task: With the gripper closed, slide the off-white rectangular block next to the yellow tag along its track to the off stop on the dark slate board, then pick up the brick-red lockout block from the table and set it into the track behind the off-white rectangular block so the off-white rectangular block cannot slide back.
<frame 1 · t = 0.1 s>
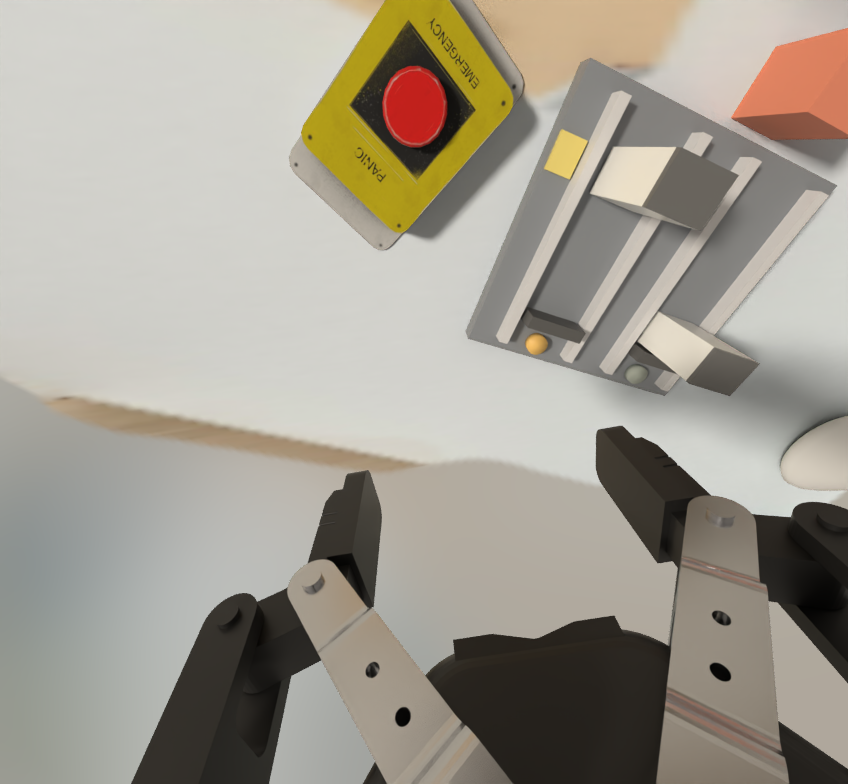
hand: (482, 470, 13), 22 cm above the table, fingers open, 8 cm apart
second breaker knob: (691, 350, 31), point 5 cm above the table, slide at 9.0 cm
emergency button: (402, 126, 26), on the table
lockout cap: (773, 95, 26), on the table
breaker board: (627, 263, 32), on the table
flower in vase: (813, 441, 46), on the table
off-white rectangular block: (653, 185, 24), point 5 cm above the table, slide at 0.0 cm
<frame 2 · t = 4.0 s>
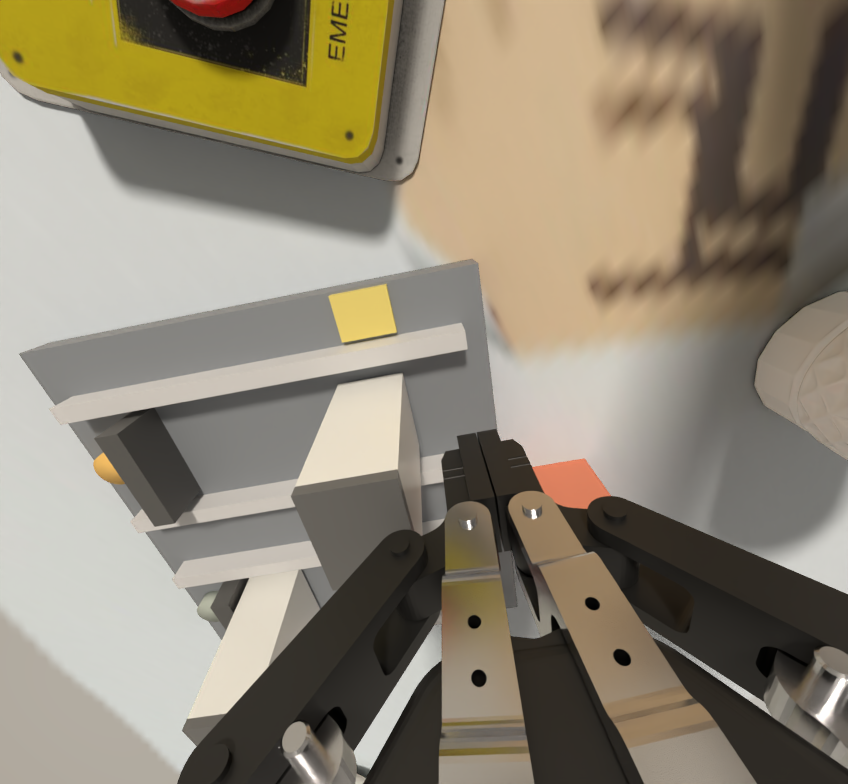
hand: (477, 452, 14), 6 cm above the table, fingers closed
white cup: (816, 354, 19), on the table
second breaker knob: (265, 657, 20), point 5 cm above the table, slide at 9.0 cm
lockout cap: (550, 490, 22), on the table
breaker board: (326, 488, 22), on the table
flower in vase: (326, 774, 38), on the table
off-white rectangular block: (373, 463, 14), point 5 cm above the table, slide at 0.5 cm, touching gripper
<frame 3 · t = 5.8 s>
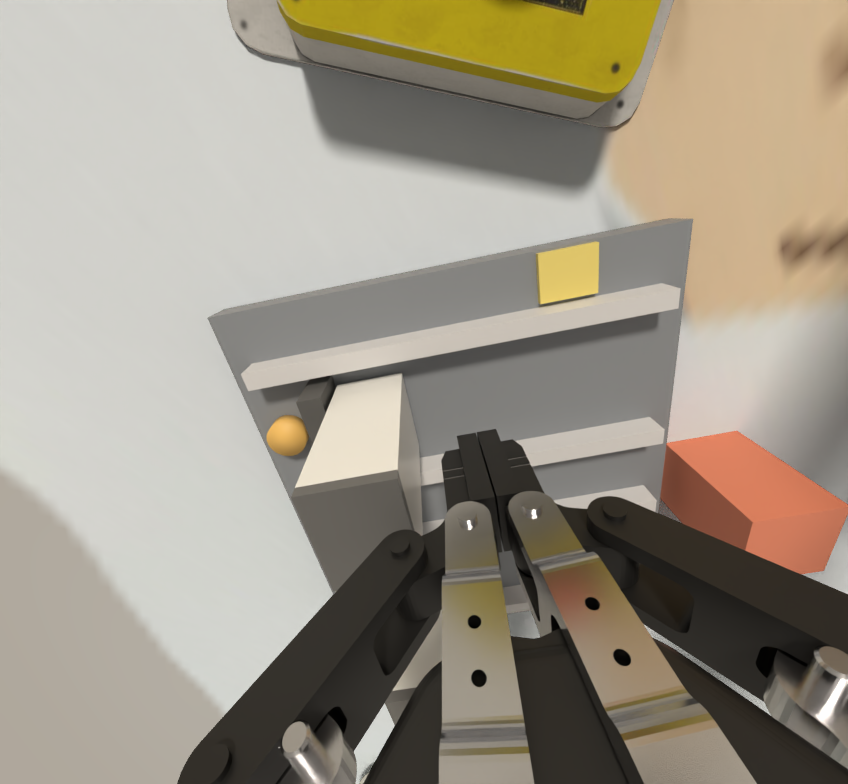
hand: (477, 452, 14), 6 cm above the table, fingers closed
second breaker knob: (426, 633, 19), point 5 cm above the table, slide at 9.0 cm
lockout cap: (696, 465, 22), on the table
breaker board: (472, 463, 21), on the table
off-white rectangular block: (373, 463, 14), point 5 cm above the table, slide at 9.0 cm, touching gripper
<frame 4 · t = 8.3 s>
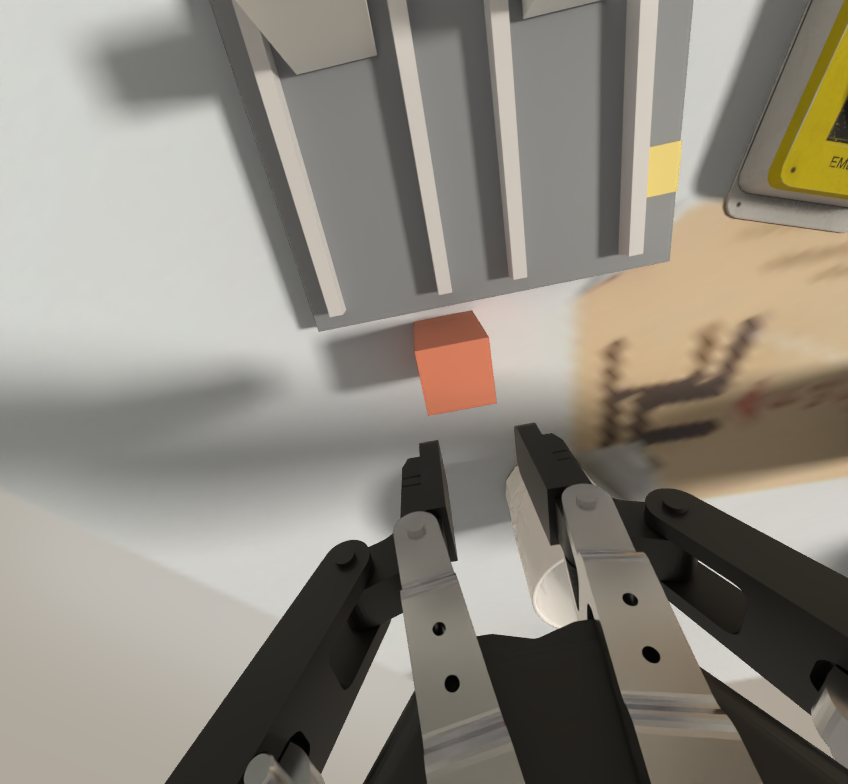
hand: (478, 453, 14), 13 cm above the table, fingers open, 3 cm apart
white cup: (543, 482, 32), on the table
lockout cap: (447, 343, 26), on the table
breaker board: (462, 108, 20), on the table
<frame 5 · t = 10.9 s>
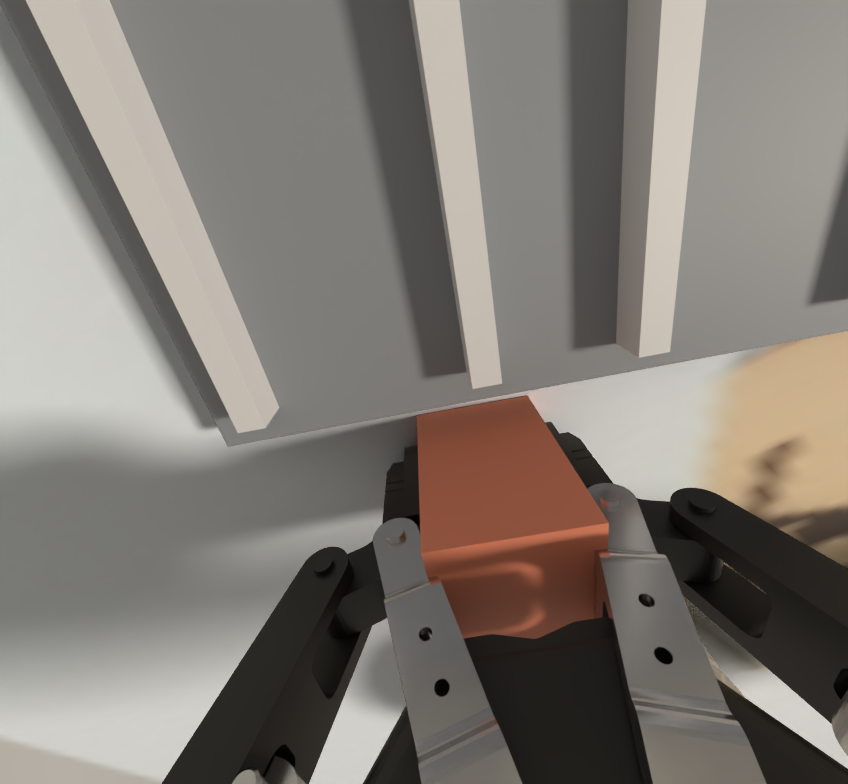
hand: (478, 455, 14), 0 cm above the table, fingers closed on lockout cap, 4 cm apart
white cup: (620, 639, 20), on the table
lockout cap: (478, 451, 14), on the table, touching gripper
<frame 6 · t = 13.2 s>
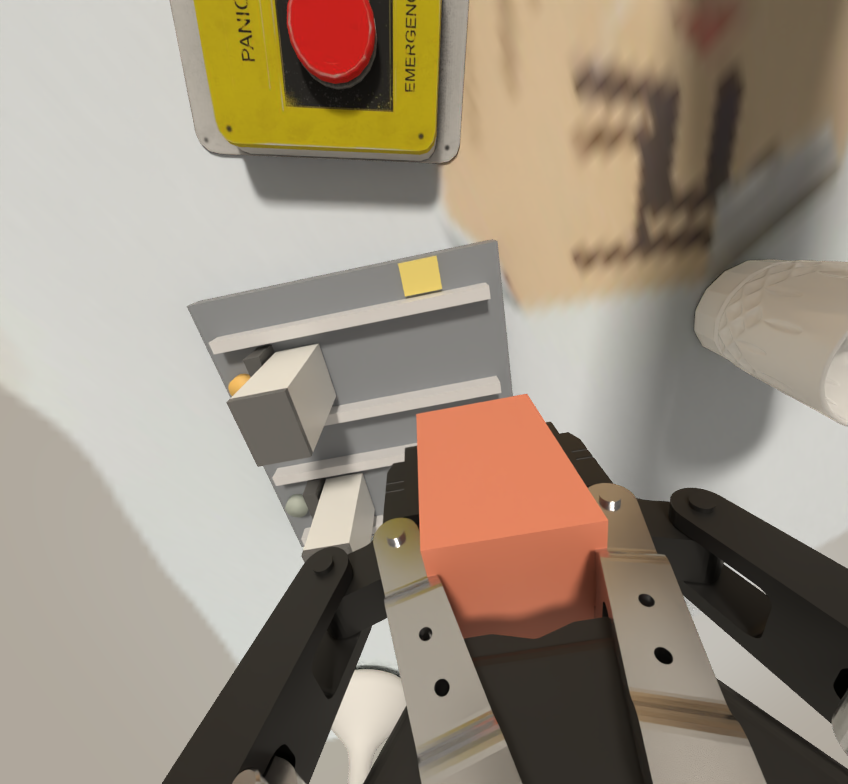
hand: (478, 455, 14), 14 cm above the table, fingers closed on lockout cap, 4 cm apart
white cup: (738, 307, 27), on the table
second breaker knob: (343, 529, 27), point 5 cm above the table, slide at 9.0 cm
emergency button: (327, 61, 20), on the table
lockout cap: (478, 449, 14), point 14 cm above the table, touching gripper
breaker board: (382, 413, 29), on the table
flower in vase: (365, 678, 46), on the table
off-white rectangular block: (291, 398, 22), point 5 cm above the table, slide at 9.0 cm
when the fingers open (3 cm above the table, at t = 15.5 s): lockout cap drops 1 cm, resting on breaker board.
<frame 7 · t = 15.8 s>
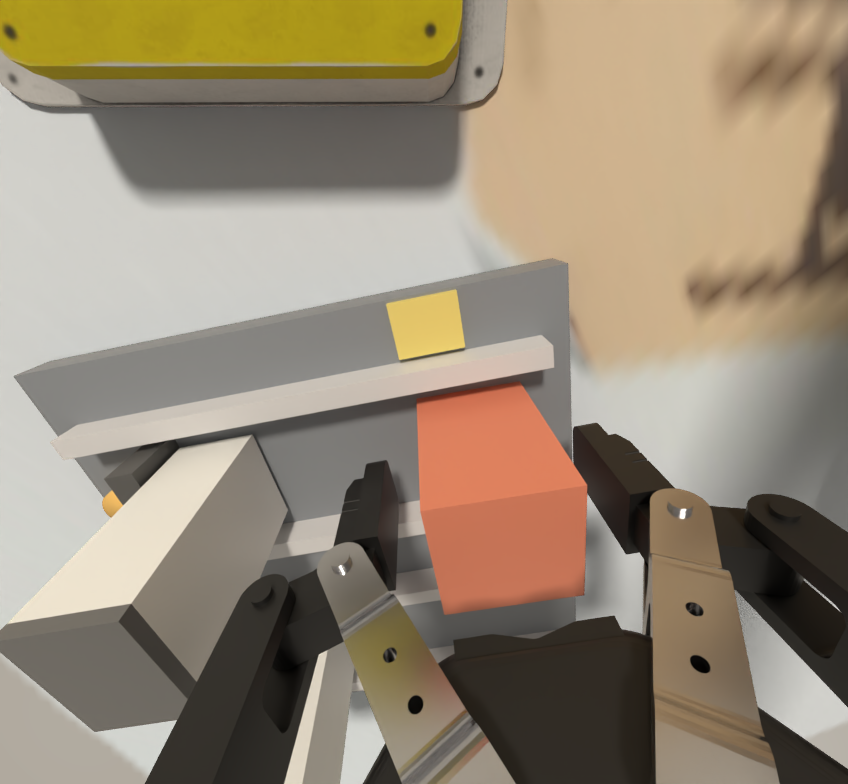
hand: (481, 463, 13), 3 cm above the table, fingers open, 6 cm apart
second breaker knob: (301, 720, 17), point 5 cm above the table, slide at 9.0 cm
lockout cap: (473, 433, 15), point 1 cm above the table, touching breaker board
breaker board: (365, 521, 19), on the table
off-white rectangular block: (189, 553, 12), point 5 cm above the table, slide at 9.0 cm
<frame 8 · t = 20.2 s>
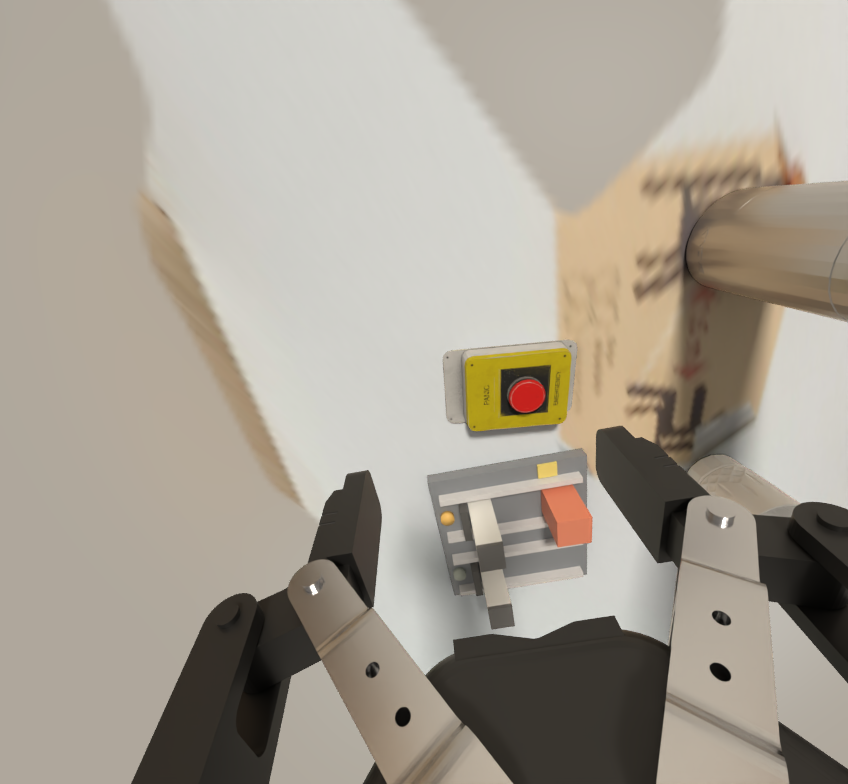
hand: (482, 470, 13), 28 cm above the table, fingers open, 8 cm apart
white cup: (708, 473, 50), on the table
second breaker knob: (495, 591, 50), point 5 cm above the table, slide at 9.0 cm
emergency button: (507, 380, 43), on the table
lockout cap: (556, 497, 48), point 1 cm above the table, touching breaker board
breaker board: (511, 524, 52), on the table
off-white rectangular block: (485, 533, 46), point 5 cm above the table, slide at 9.0 cm
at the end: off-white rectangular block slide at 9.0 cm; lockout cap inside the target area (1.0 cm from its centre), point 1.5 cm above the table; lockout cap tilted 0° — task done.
